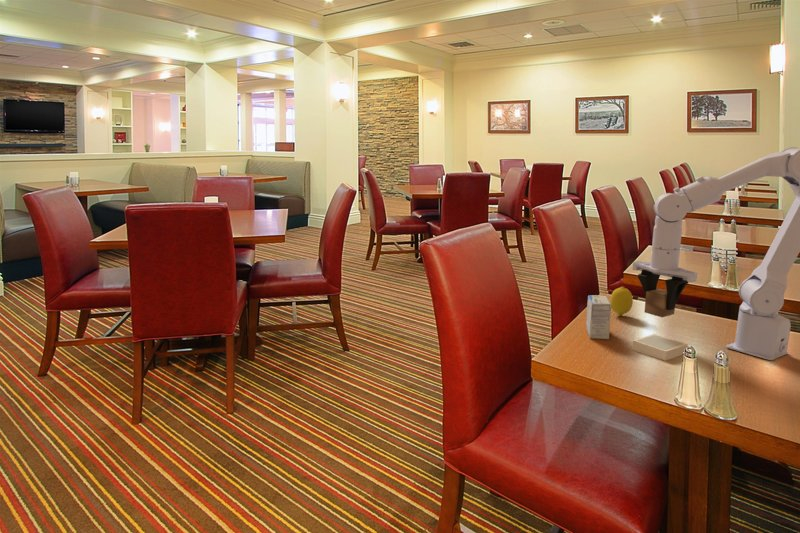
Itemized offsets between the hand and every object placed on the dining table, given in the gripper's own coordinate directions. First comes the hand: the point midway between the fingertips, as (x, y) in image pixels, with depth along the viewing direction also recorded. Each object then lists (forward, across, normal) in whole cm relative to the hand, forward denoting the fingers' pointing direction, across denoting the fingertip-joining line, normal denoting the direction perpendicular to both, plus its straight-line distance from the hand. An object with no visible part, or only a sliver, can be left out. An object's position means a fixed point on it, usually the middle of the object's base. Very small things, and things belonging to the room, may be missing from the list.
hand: (659, 306), depth 130 cm
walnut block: (+2, 0, 0) cm, 2 cm away
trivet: (+9, +4, -5) cm, 11 cm away
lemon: (+9, -17, +10) cm, 21 cm away
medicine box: (+9, -11, -7) cm, 16 cm away
